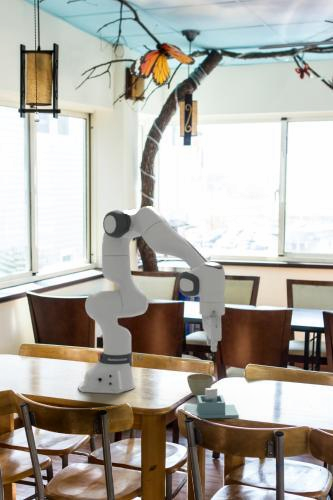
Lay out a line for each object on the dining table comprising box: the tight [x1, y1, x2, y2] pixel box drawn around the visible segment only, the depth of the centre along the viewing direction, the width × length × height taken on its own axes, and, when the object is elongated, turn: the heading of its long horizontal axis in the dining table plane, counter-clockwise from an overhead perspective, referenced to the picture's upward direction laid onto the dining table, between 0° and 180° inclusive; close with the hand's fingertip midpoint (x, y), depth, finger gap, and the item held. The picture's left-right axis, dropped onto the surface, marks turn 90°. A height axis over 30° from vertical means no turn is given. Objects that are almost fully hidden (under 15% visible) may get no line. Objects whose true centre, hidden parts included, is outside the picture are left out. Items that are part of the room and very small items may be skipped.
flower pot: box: [186, 373, 214, 397], centre depth 273 cm, size 10×10×7 cm
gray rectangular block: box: [205, 387, 218, 402], centre depth 251 cm, size 4×4×8 cm
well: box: [184, 394, 239, 419], centre depth 251 cm, size 18×12×5 cm, turn 92°
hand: (211, 348), depth 248 cm, fingers open, 8 cm apart
